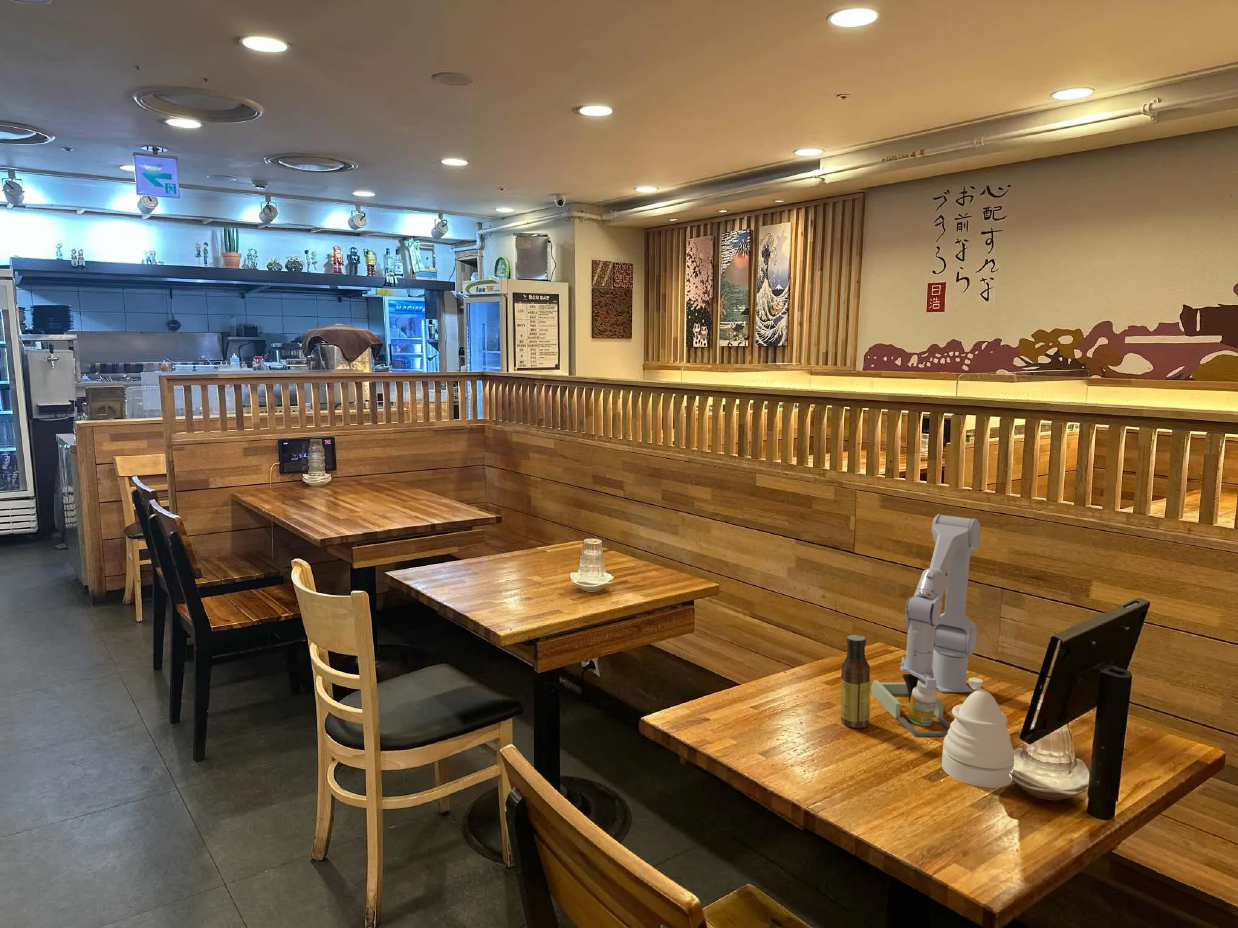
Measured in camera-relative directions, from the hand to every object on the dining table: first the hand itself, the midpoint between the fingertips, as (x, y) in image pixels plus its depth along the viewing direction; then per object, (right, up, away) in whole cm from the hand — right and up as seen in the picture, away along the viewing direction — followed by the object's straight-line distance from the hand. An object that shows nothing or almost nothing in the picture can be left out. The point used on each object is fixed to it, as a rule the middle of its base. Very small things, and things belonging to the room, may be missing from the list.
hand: (915, 706), depth 186 cm
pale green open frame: (0, -2, +6) cm, 6 cm away
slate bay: (+1, -3, -5) cm, 6 cm away
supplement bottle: (0, -2, -2) cm, 3 cm away
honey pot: (+3, -5, -25) cm, 26 cm away
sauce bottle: (-15, -3, -4) cm, 16 cm away
